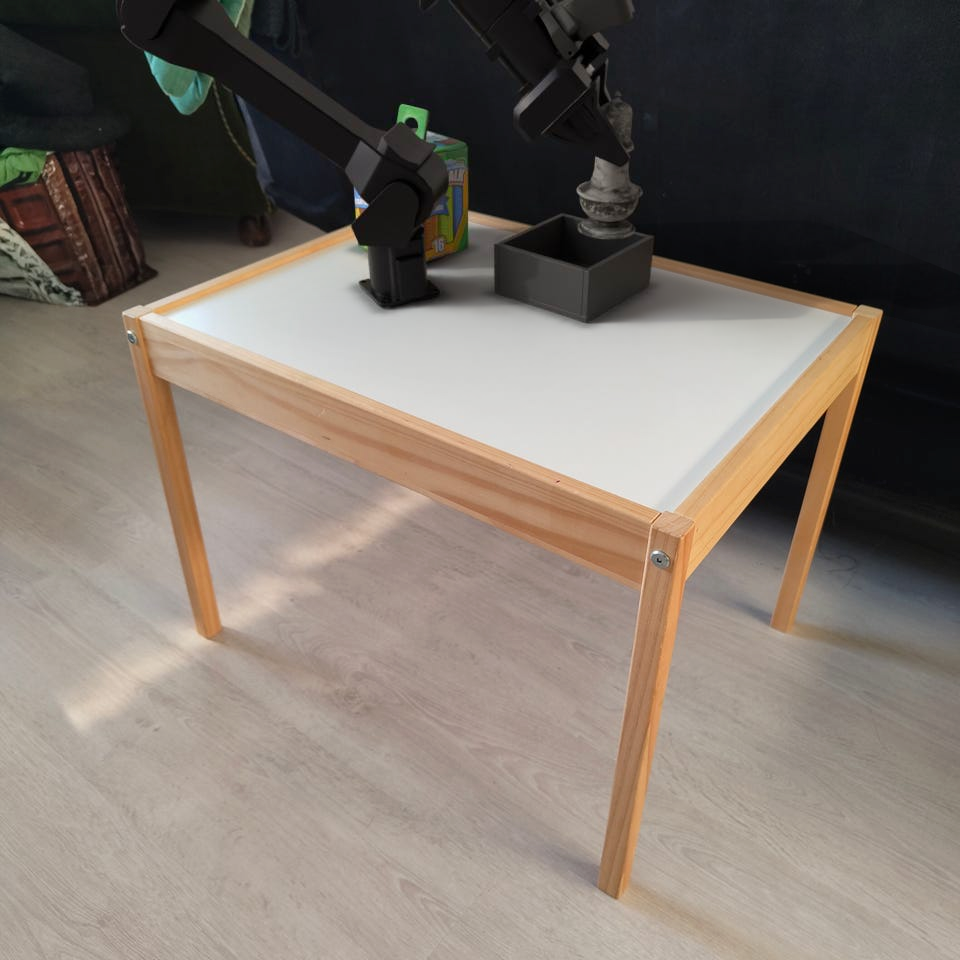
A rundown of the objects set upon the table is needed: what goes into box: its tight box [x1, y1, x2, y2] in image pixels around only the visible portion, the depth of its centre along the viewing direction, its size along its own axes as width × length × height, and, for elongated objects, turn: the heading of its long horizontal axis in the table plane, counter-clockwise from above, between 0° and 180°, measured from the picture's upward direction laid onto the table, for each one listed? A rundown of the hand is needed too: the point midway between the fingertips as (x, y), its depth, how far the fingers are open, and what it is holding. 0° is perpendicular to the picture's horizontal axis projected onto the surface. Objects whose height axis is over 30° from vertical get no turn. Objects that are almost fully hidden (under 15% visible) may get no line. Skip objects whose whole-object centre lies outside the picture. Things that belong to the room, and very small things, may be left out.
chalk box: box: [353, 103, 470, 263], centre depth 96 cm, size 9×9×15 cm
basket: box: [493, 212, 655, 324], centre depth 89 cm, size 11×11×5 cm
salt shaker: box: [576, 89, 643, 239], centre depth 79 cm, size 6×6×12 cm
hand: (627, 157), depth 78 cm, fingers closed on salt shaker, 3 cm apart
